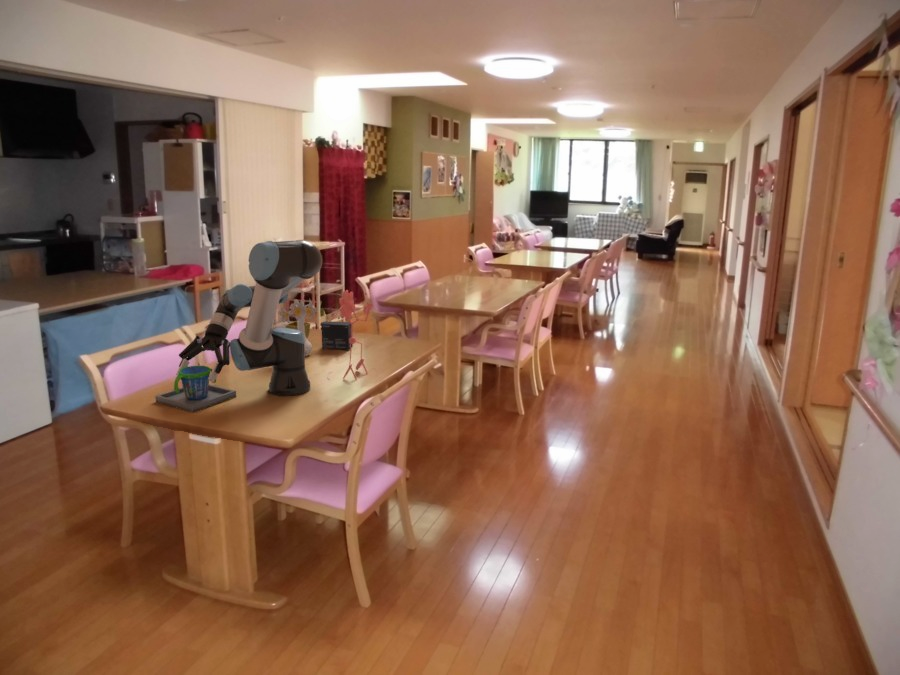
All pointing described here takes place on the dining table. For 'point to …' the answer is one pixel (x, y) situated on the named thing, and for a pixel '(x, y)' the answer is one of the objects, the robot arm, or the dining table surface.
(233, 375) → the dining table surface
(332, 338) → the small box
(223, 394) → the cup tray
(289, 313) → the flower vase
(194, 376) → the snack cup
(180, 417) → the dining table surface
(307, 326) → the flower pot
